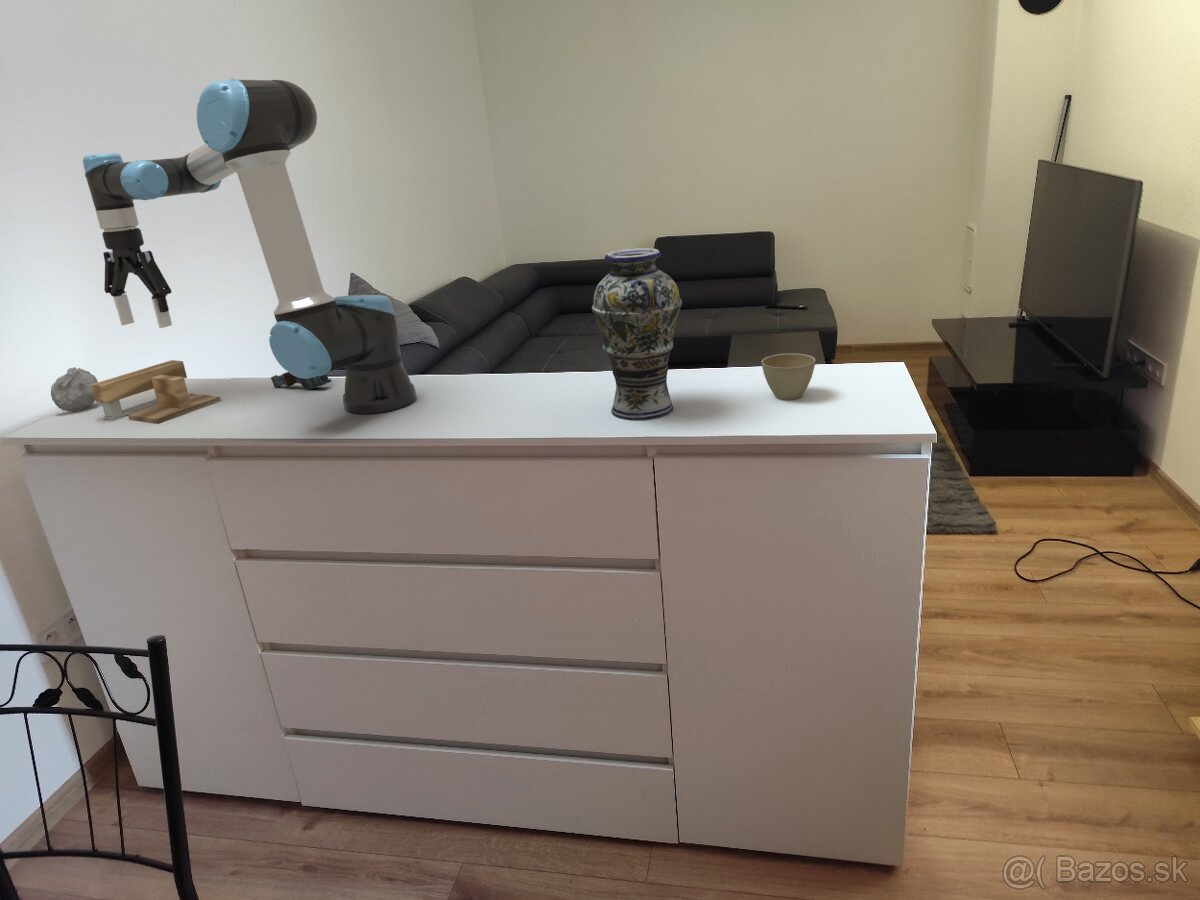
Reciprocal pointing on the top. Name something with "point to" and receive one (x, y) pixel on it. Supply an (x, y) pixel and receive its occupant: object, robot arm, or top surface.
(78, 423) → the top surface
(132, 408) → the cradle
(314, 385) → the gun
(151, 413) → the fulcrum
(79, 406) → the stone
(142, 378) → the bar
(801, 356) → the flower pot
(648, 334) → the vase
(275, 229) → the robot arm
